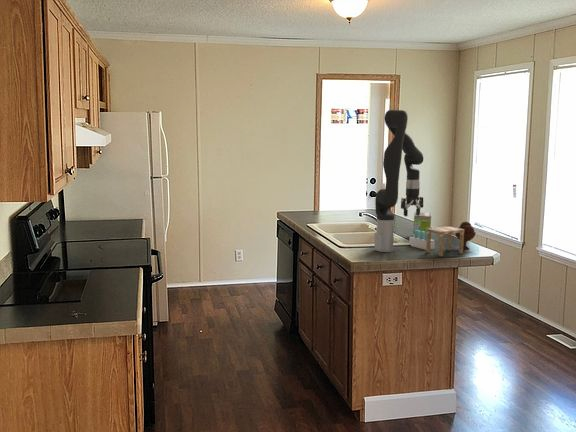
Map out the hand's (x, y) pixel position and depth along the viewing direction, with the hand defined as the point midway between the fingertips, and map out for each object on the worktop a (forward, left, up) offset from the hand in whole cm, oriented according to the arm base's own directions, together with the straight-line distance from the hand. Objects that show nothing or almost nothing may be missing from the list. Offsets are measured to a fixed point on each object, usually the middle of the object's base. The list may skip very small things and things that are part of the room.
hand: (411, 215), depth 347 cm
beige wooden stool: (0, -28, -16) cm, 32 cm away
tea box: (+19, +12, -17) cm, 28 cm away
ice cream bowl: (+18, -24, -17) cm, 34 cm away
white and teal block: (-1, -10, -17) cm, 19 cm away
